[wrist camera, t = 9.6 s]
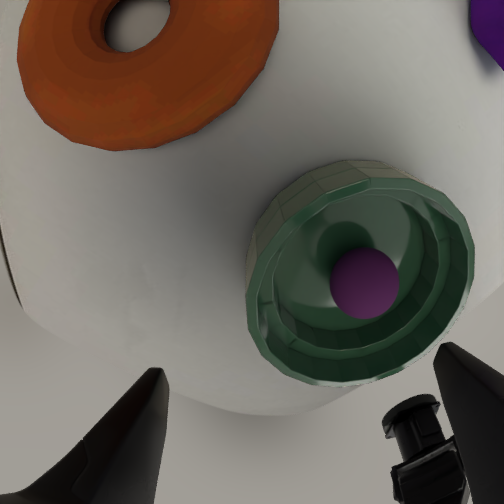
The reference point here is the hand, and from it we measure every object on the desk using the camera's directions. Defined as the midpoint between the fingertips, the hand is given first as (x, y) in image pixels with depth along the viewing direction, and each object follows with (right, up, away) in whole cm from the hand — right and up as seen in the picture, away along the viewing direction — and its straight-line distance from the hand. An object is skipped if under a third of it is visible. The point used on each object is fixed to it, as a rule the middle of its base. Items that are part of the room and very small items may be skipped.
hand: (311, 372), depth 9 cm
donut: (-8, +17, +5) cm, 19 cm away
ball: (+5, +2, +10) cm, 11 cm away
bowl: (+5, +3, +12) cm, 13 cm away
